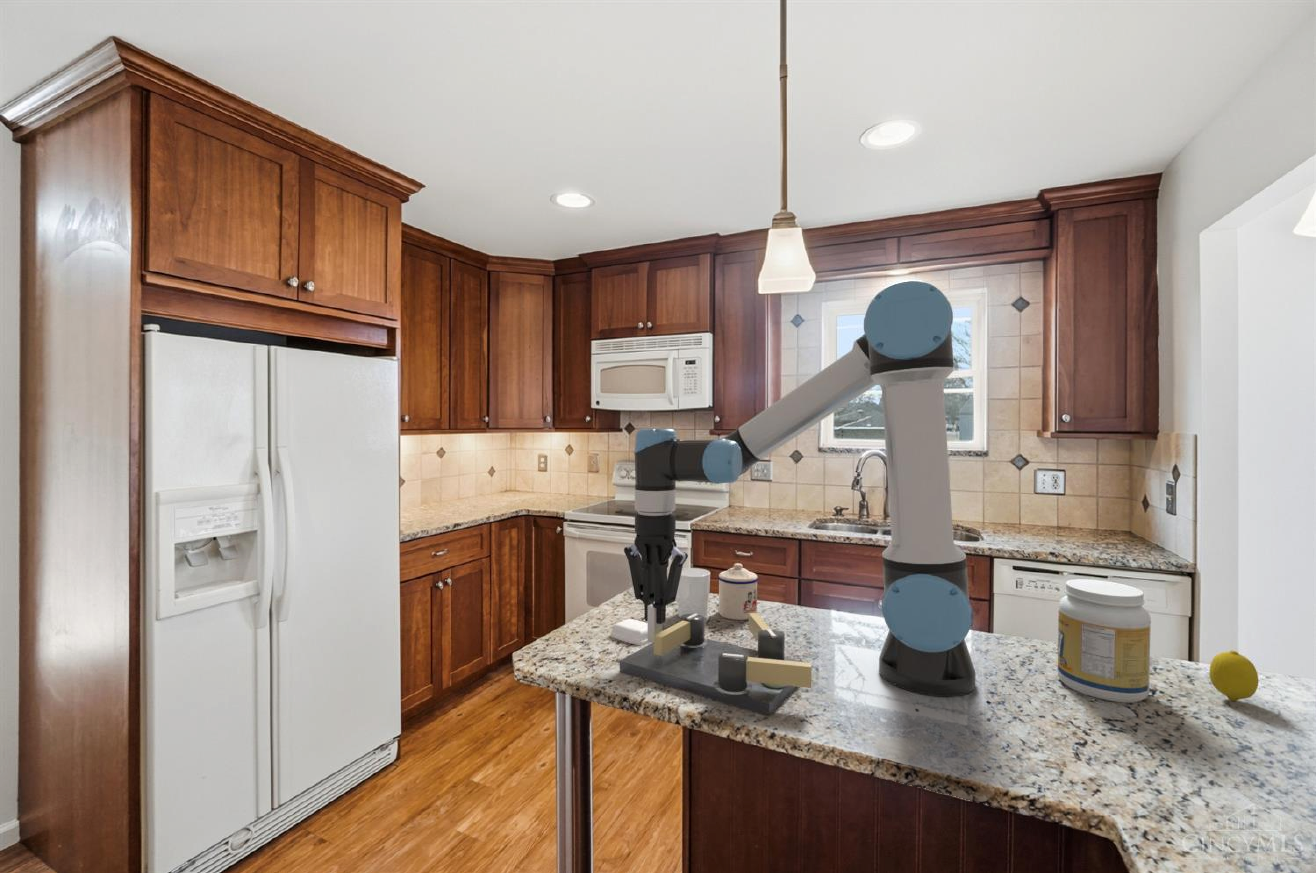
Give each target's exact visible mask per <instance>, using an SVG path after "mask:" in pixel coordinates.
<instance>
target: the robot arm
mask: <svg viewBox="0 0 1316 873" xmlns="http://www.w3.org/2000/svg"><path fill="white" fill-rule="evenodd" d="M953 314H954V313H953V309H952V305H951V303H950V301H949V300H948V297H947V296H946V295H945V294H944V293H943V291H941V290H940V289H939V288H938V287H937V286H935V285H933V284H931V283H928V282H926V281H922V280H918V279H913V280H912V279H911V280H910V279H907V280H902V281H897V282H895V283H892V284H890V285H888V286H886V287H884V288H883V289H882V290H880V291H879V292H878V293H877V294H876V295H875V296H874V297H873V299H872V300H871V301H870V302H869V305H868V306H867V308H866V312H865V314H864V318H863V332H864V333H863V335H861V336H860V337H859V338H857V339H856V340H854V341H853V345H852V348H851V350H850V351H849V352H847V353H845V354H844V355H842V356H841V357H840V358H838V359H836V360H835V361H834V362H833V363H831V364H830V365H827V367H825V368H824V369H822V370H820V371H819V372H817V373H816V374H815V375H813V376H812V377H810V378H809V379H808V380H806V381H805V382H804V383H802V384H800V385H799V386H797V387H796V388H795V389H793V390H792V391H790V392H788V393H787V394H785V395H784V396H783V397H781V398H780V399H778V400H777V401H775V402H774V403H773V404H771V405H770V406H768V407H767V408H765V409H764V410H762V411H761V412H760V413H758V414H756V415H755V416H754V417H752V418H751V419H750V420H748V421H747V422H745V423H743V424H742V425H741V426H739V427H738V428H737V429H735V430H733V431H732V432H731V433H729V434H728V435H726V436H725V437H723V438H717V439H679V438H678V437H677V436H676V434H677V433H676V431H675V430H674V429H673V428H642V429H638V431H636V434H635V440H634V441H635V444H634V452H633V455H634V466H635V467H634V475H635V476H634V477H635V478H634V480H635V481H634V483H635V485H634V510H635V511H636V512H637V513H635V515H634V532H635V534H636V535H635V539H634V540H633V541H634V543H632V544H631V545H630V546H629V545H628V546H626V547H624V548H623V552H624V554H625V557H626V558H627V562H628V565H629V572H630V577H631V582H632V588H633V593H634V597H635V599H636V600H638V601H641V602H642V603H643V604H644V605H643V606H644V608H643V610H644V611H643V612H644V615H643V616H644V621H645V622H647V623H648V641H649V643H654V635H656V634H658V633H660V632H662V631H663V624H664V623H665V622H666V620H667V615H666V614H667V609H666V607H667V606H668V605H670V604H672V603H674V602H676V601H677V590H678V586H679V581H680V577H681V572H682V569H683V566H684V564H685V562H686V561H687V559H688V557H689V554H688V553H687V552H686V551H685V552H682V551H681V550H680V549H679V548H678V547H677V546H678V545H677V542H676V538H675V534H676V524H677V523H676V520H677V518H676V514H675V513H674V512H675V510H676V488H677V485H676V482H683V481H684V482H697V483H713V484H715V485H717V484H733V483H735V482H737V481H738V480H739V477H740V476H741V475H743V474H745V473H746V472H748V471H749V470H750V469H751V467H752V466H754V465H756V464H757V463H758V462H760V461H761V460H762V459H764V458H765V457H767V456H768V455H770V454H772V453H773V452H775V451H777V450H778V449H779V448H781V447H783V446H785V445H786V444H787V443H788V442H790V441H792V440H794V439H795V438H797V437H798V436H800V435H802V434H803V433H804V432H806V431H807V430H809V429H810V428H812V427H813V426H815V425H816V424H818V423H819V422H821V421H822V420H825V419H826V418H828V417H829V416H831V415H832V414H833V413H835V412H836V411H838V410H840V409H841V408H843V407H844V406H846V405H848V404H849V403H851V402H852V401H853V400H855V399H857V398H859V397H860V396H861V395H863V394H864V393H866V392H868V391H869V390H871V389H872V388H874V387H875V386H879V387H880V388H881V396H882V410H883V411H882V412H883V413H882V414H883V428H884V429H883V430H884V441H885V444H884V445H885V457H886V458H885V459H886V473H887V488H888V490H887V491H888V504H889V505H888V506H889V508H888V509H889V519H890V520H889V521H890V537H891V543H890V544H889V545H888V546H887V547H886V548H885V549H884V550H883V551H882V553H881V558H882V562H881V563H882V575H883V579H882V580H883V591H884V594H883V596H882V601H881V612H882V616H883V619H884V622H885V624H886V627H887V628H888V632H887V635H886V638H885V641H884V644H883V645H882V646H883V647H882V649H881V652H880V655H879V656H878V657H879V658H878V673H879V674H880V675H881V677H882V678H884V679H885V680H886V681H887V682H889V683H891V684H893V685H894V686H897V687H898V688H901V689H904V690H907V691H910V692H913V693H918V694H922V695H928V696H937V697H958V696H963V695H968V694H970V693H972V692H973V691H974V690H975V689H976V676H977V674H976V670H975V668H974V664H973V661H972V658H971V654H970V652H969V649H968V645H967V643H966V642H967V641H966V640H965V639H966V638H967V636H968V633H970V632H969V631H970V629H971V626H972V625H973V620H974V619H973V618H974V615H973V609H972V605H971V604H970V595H969V594H970V593H969V579H968V578H969V577H968V565H967V564H968V563H967V555H966V553H965V552H964V550H963V549H962V548H960V547H958V546H957V545H956V543H955V542H954V527H953V512H952V499H951V498H952V497H951V496H952V495H951V494H952V493H951V482H950V481H951V479H950V467H949V454H948V452H949V451H948V450H949V449H948V448H949V447H948V436H947V435H948V434H947V422H946V421H947V420H946V408H945V392H944V384H945V380H946V379H948V378H949V376H950V375H951V374H952V373H953V372H954V370H955V369H954V354H953V353H954V352H953V351H954V350H953V337H952V325H953V322H954V315H953ZM669 560H671V563H670V561H669ZM669 564H670V565H669ZM668 567H669V571H668Z"/></svg>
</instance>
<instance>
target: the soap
mask: <svg viewBox="0 0 1316 873" xmlns="http://www.w3.org/2000/svg"><path fill="white" fill-rule="evenodd" d="M611 630H612V631H611V632H610V633H609V636H610V637H611V638H613V639H617V640H619V641H622V642H626V643H629V644H631V645H637V646H645V645H646V644H649V643H650V642H649V641H648V622H646V621H645V622H644V621H640V620H636V619H632V618H628V619H624V620H622V621H619V622H617V623H615V624H613V626H612V628H611Z"/></svg>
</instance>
